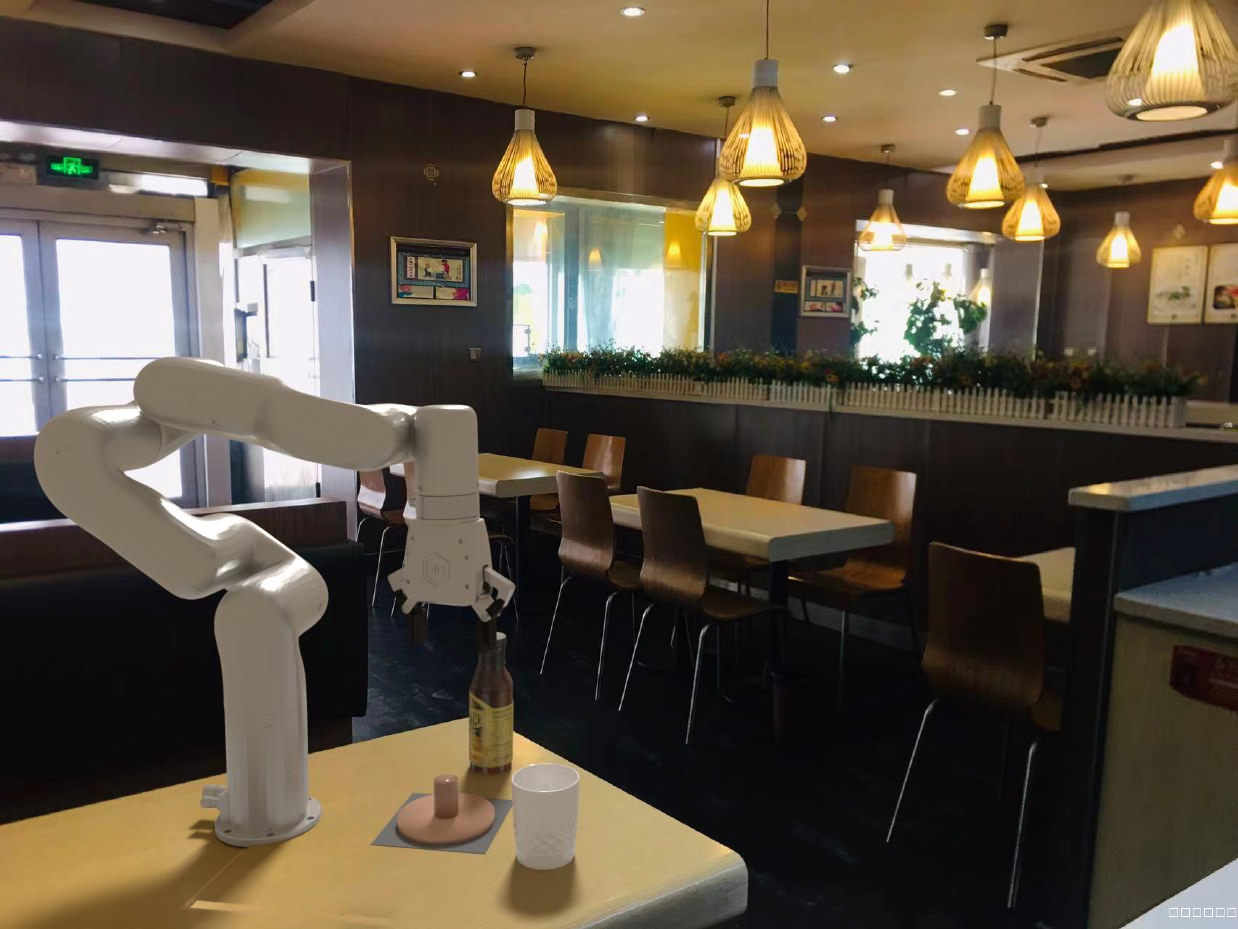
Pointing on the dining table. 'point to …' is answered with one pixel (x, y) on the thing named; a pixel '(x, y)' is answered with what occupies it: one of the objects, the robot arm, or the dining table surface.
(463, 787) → the dining table surface
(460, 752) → the dining table surface
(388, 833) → the mat
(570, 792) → the white cup
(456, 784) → the lid
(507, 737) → the sauce bottle
